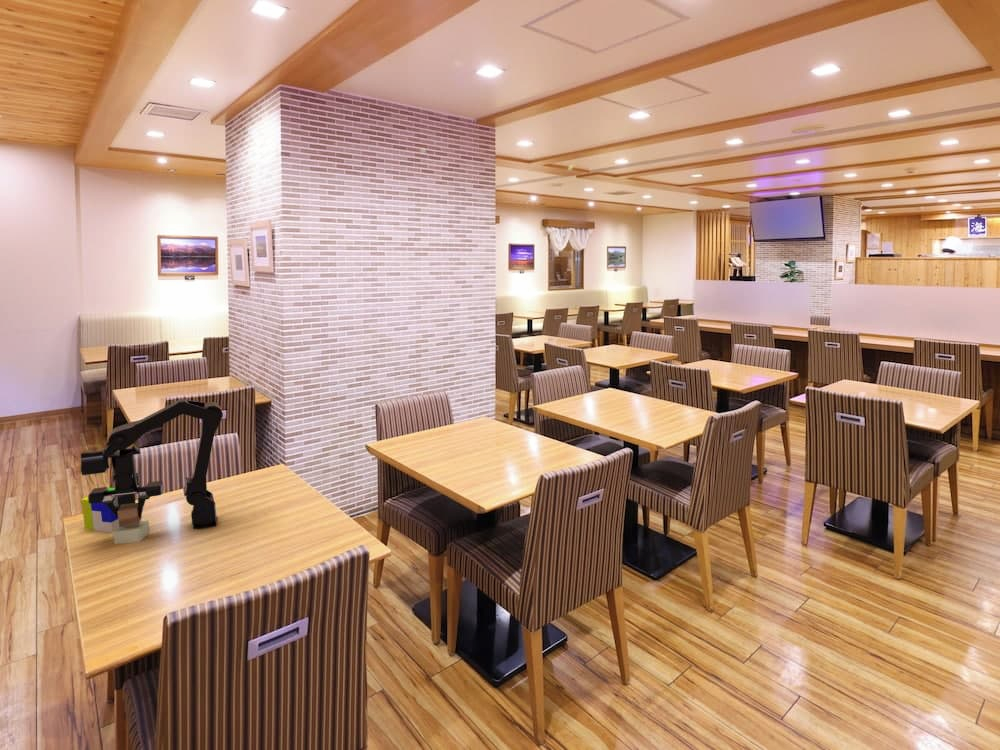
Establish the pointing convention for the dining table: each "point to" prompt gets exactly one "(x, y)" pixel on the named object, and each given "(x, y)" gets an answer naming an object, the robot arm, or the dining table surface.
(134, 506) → the walnut cube
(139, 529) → the base block
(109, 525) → the puzzle toy
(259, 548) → the dining table surface
